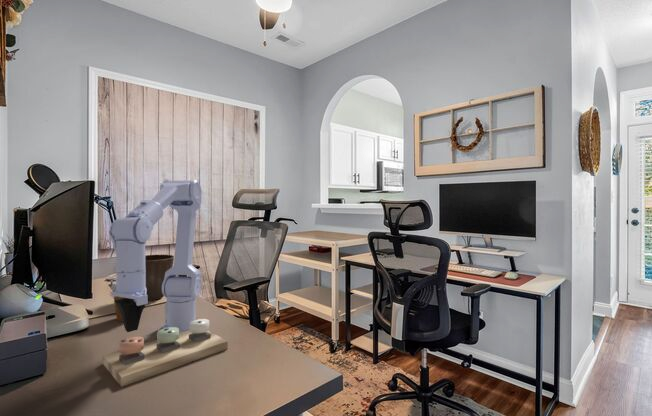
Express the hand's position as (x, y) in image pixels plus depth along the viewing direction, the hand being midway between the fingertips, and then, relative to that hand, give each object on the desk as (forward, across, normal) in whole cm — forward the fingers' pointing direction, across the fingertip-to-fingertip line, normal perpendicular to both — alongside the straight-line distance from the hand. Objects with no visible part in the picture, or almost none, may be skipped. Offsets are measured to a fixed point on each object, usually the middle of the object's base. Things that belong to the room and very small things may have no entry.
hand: (131, 330), depth 75 cm
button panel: (+9, 0, +8) cm, 12 cm away
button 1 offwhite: (+4, 0, +16) cm, 17 cm away
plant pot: (+9, -55, +24) cm, 61 cm away
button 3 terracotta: (+4, 0, 0) cm, 4 cm away
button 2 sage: (+4, 0, +8) cm, 9 cm away
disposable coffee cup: (+9, -37, +10) cm, 39 cm away
